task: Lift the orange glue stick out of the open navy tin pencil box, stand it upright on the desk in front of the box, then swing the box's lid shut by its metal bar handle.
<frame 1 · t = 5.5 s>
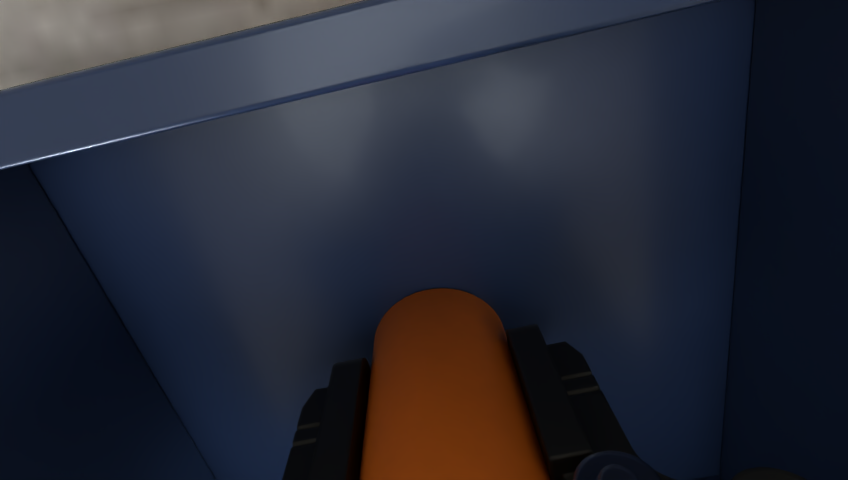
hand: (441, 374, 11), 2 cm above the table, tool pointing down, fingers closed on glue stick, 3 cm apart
glue stick: (439, 343, 12), point 1 cm above the table, touching gripper, pencil box
pencil box: (437, 325, 13), on the table
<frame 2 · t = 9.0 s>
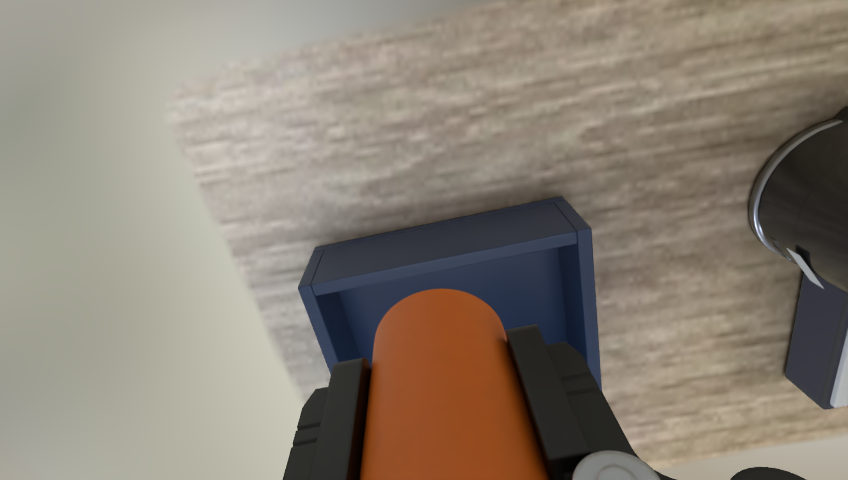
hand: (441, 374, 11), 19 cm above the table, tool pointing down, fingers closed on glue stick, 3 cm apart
glue stick: (439, 343, 12), point 18 cm above the table, touching gripper
pencil box: (457, 318, 34), on the table
when the fingers open (1 cm above the table, at t = 12.7 s): glue stick stays where it is, on the table.
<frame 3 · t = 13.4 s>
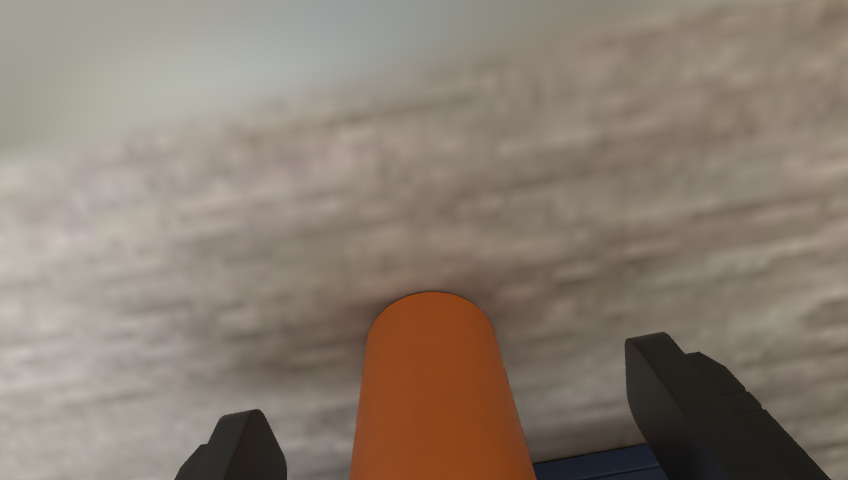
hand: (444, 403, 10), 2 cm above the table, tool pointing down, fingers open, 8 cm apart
glue stick: (431, 345, 12), on the table
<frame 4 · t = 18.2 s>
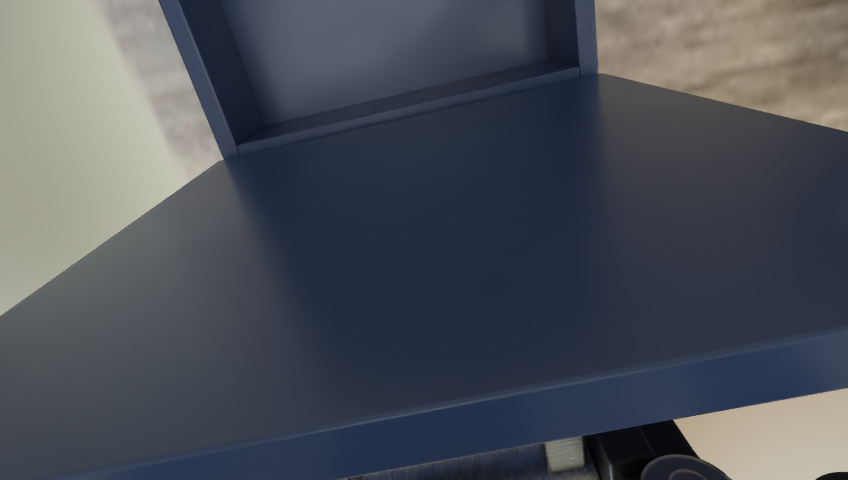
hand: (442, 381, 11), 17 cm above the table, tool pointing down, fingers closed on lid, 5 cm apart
lid: (425, 264, 13), point 14 cm above the table, hinge at 90.0°, touching gripper
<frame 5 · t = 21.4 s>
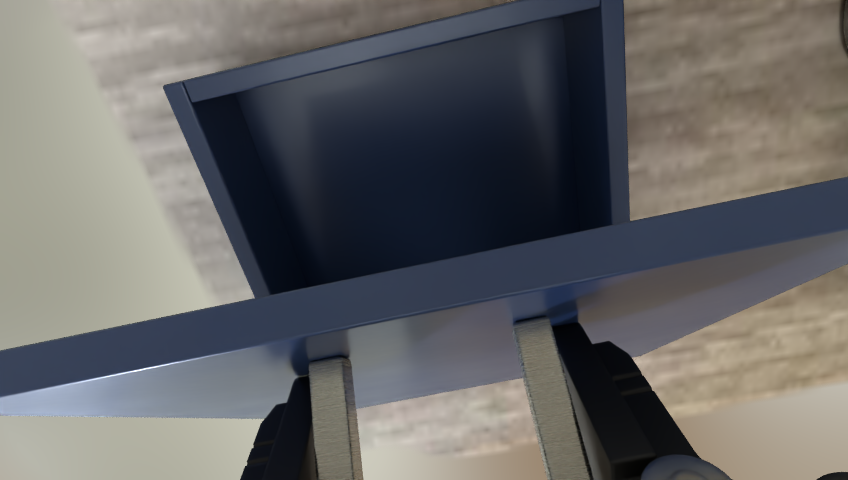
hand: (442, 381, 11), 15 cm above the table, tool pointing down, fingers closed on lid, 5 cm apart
lid: (464, 435, 14), point 13 cm above the table, hinge at 42.7°, touching gripper
pencil box: (426, 190, 24), on the table
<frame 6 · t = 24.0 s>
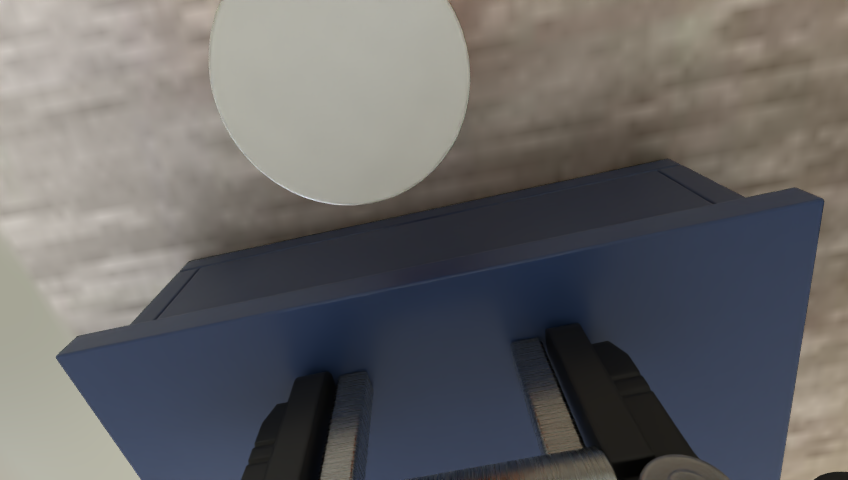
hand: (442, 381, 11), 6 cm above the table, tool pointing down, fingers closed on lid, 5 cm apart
glue stick: (377, 52, 13), on the table
pencil box: (461, 384, 19), on the table
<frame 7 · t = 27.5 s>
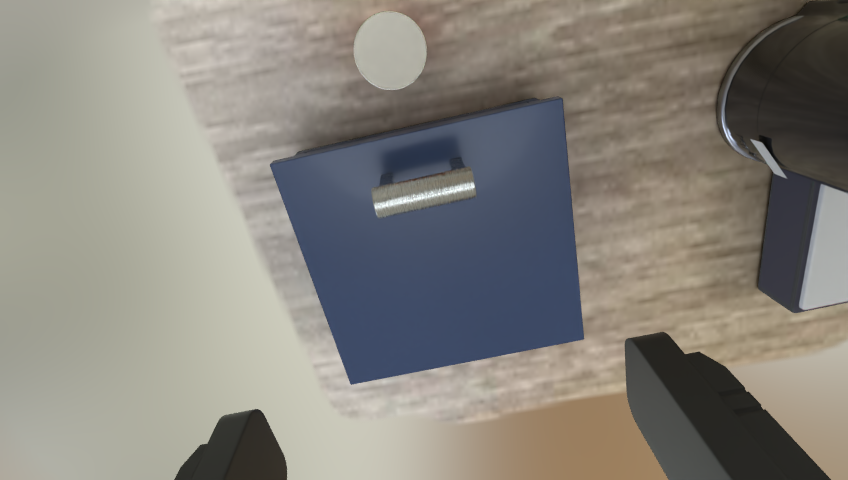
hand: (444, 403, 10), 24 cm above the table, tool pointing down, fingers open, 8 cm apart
lid: (444, 275, 27), point 8 cm above the table, hinge at -0.2°, touching pencil box
glue stick: (394, 45, 29), on the table
pencil box: (437, 227, 35), on the table
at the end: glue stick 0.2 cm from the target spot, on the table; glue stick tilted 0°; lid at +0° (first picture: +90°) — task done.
